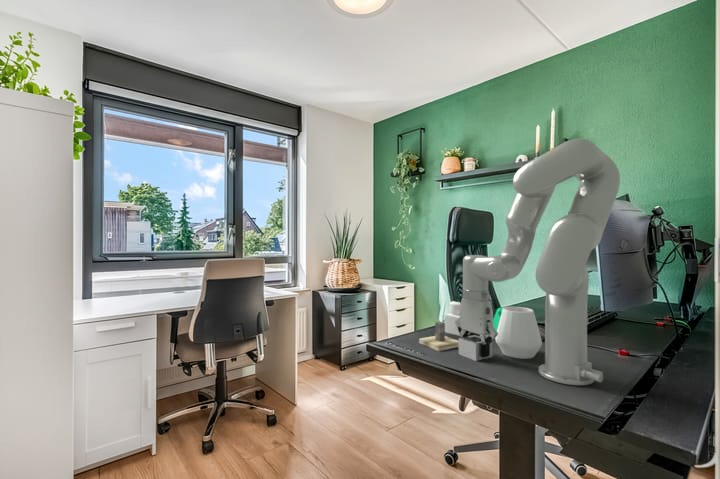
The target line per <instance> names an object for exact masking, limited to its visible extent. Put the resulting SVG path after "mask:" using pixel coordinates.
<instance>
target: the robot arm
mask: <svg viewBox="0 0 720 479" xmlns="http://www.w3.org/2000/svg"><path fill="white" fill-rule="evenodd" d="M573 177H574V178H576V179H577V180H578V181H579V187H578V189H577V191H576V192H575V195H574V198H573V199H572V204H571V206H570V209H569V211H568V214H566V215H564V216H562V217H560V218H559V219H557V220H556V221H555V222H554V224H553V225H552V227H551V229H550V231H549V232H548V236H547V238H546V241H545V244H544V246H543V249H542V252H541V254H540V258H539V260H538V263H537V266H536V270H535V280H536V283H537V285H538V286H539V288H540V290H542V291H543V292H544V293H545V302H544V303H545V304H544V364H541V365H539V366H538V373H539V375H540V376H541V377H543V378H545V379H547V380H550V381H552V382H556V383H560V384H564V385H569V386H589V385H592V384H593V383H595V382H596V383H597V382H598V383H602V382H603V380H604V375H603V374H604V373H603V371H601V370H596V369H593V368H592V366H593V365H592V362H590V361H588V299H589V298H588V297H589V288H590V286H589V284H590V275H589V270H588V267H587V263H588V262H587V261H588V259H589V257H590V255H591V252H592V250H594V249H596V247H598V246H599V244H600V243H601V241H602V238H603V234H604V231H605V229H606V226H607V223H608V220H609V218H610V215H611V212H612V210H613V207H614V205H615V204H614V203H615V201H616V199H617V196H618V193H619V189H620V184H621V176H620V172H619V168H618V166H617V164H616V163H615V162H614V160H613V159H612V158H611V157H610V156H609V155H607V154H606V153H605V152H604V151H603V150H601V149H600V148H599V146H597V145H596V143H594V142H593V141H592V140H590V139H588V138H584V137H583V138H581V137H579V138H577V137H576V138H573V139H569V140H567V141H564V142H562V143H561V144H559V145H557V146H555V147H553V148H551V149H550V150H548V151H546V152H544V153H543V154H541V155H539V156H537V157H535V158H534V159H532V160H530V161H528V162H527V163H525V164H524V165H522V166H520V167H519V169H517V171H516V172H515V174H514V176H513V178H512V186H513V189H514V191H516V194H515V196H514V198H513V201H512V203H511V206H510V207H509V210H508V211H507V214H506V216H505V224H506V227H507V239H506V243H505V245H504V248H503V250H502V252H501V254H500V255H492V256H486V255H483V254H468V255H465V256H464V257H463V259H462V298H461V300H460V301H461V305H460V316H459V319H458V320H457V321H455V324H456V326H457V328H458V331H459V332H460V336H459V337H460V338H462V337H467V336H470V334H471V333H472V334H474V335H478V336H479V337H480V338H481V341H482V343H483V344H481V357H482V358H484V357H488V356H489V355H490V343H492V344H493V342H494V340H495V338H496V336H497V335H498V332H497V331H496V330H495V329H494V324H493V319H494V313H493V306H492V303H491V301H490V300H489V299H490V298H491V294H490V293H489V281H490V282H494V283H500V282H506V281H508V280H511V279H514V278H516V277H517V276H519V275H520V274H521V272H522V270H523V268H524V266H525V264H526V262H527V260H528V258H529V255H530V253H531V250H532V247H533V244H534V241H535V236H536V232H537V229H538V226H539V224H540V222H541V220H542V217H543V215H544V212H545V210H546V208H547V206H548V205H549V202H550V200H551V199H552V195H553V194H554V191H555V189H556V186H557V185H558V184H561V183H563V182H565V181H567V180H569V179H571V178H573ZM470 332H471V333H470ZM469 333H470V334H469ZM485 338H486V339H485Z"/></svg>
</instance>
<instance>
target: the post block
mask: <svg viewBox="0 0 720 479" xmlns="http://www.w3.org/2000/svg"><path fill="white" fill-rule="evenodd" d="M434 325H435V326H434V328H435V333H434V335H433V336H426V337H422V338H421V337H420V338H419V339H418V343H419V344H421V345H423V346H425V347H427V348H430V349H432V350H435V351H437V352H441V351H446V350H450V349H455V348H459V339H458V340H457V339H455V338H451V337H448V336H447V335H446V333H445V322H443V321H435V323H434Z"/></svg>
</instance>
